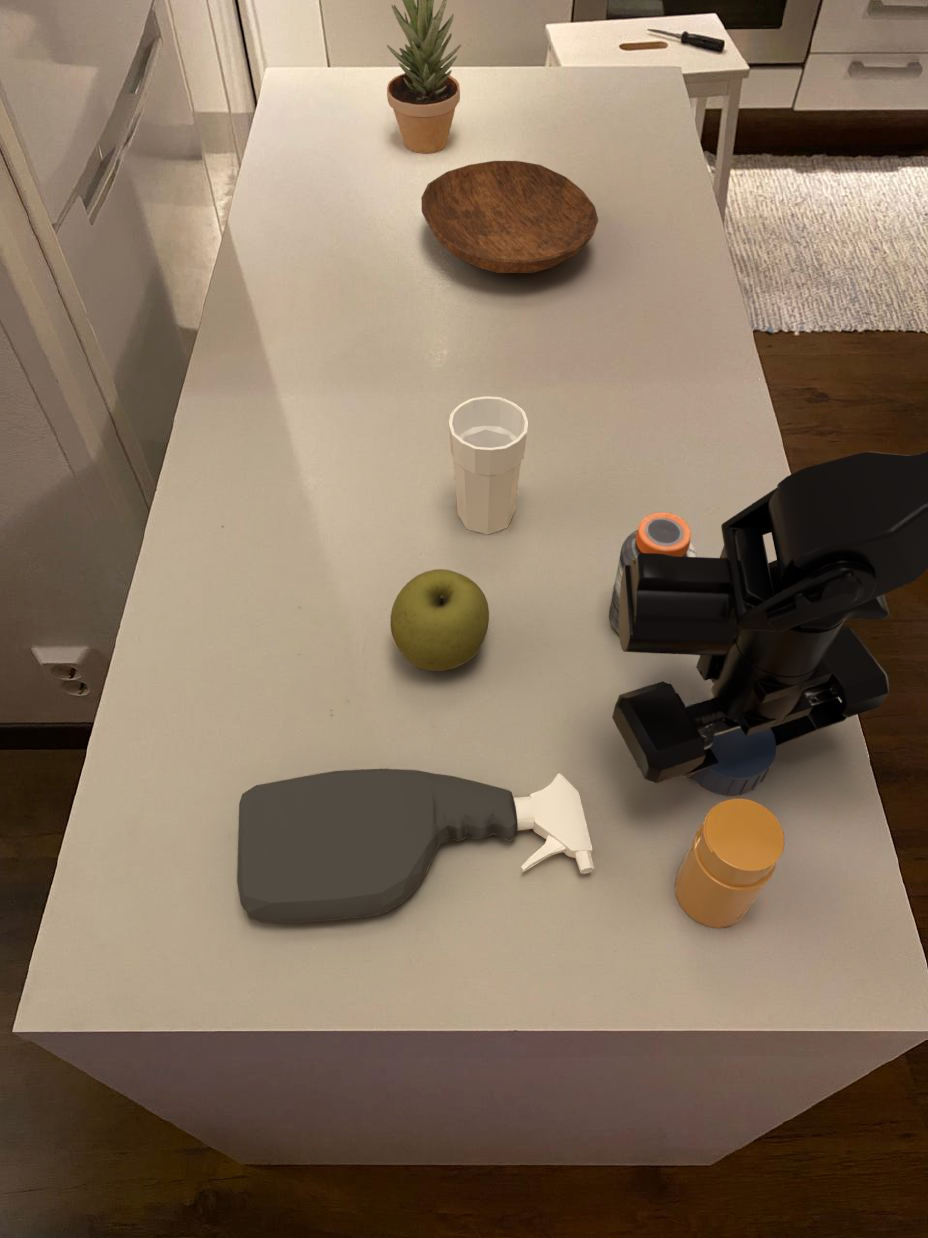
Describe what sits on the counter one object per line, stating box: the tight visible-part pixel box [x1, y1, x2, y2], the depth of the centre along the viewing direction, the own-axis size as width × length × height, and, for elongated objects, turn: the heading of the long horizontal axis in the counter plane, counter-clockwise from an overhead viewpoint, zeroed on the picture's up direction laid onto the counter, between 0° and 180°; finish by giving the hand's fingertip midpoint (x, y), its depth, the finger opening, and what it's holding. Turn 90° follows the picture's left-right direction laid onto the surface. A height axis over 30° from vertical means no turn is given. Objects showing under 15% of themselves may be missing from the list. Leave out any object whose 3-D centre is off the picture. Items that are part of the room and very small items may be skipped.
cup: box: [448, 395, 529, 536], centre depth 83 cm, size 7×7×11 cm
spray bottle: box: [236, 768, 595, 923], centre depth 67 cm, size 3×11×24 cm
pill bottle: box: [608, 511, 698, 637], centre depth 76 cm, size 6×6×11 cm
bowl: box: [420, 160, 599, 274], centre depth 112 cm, size 20×22×5 cm
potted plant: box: [386, 0, 462, 154], centre depth 119 cm, size 10×10×25 cm
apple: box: [389, 568, 490, 672], centre depth 76 cm, size 8×8×7 cm
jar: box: [674, 798, 785, 929], centre depth 62 cm, size 5×5×10 cm
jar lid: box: [691, 719, 777, 796], centre depth 71 cm, size 6×6×3 cm
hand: (723, 758), depth 72 cm, fingers closed on jar lid, 6 cm apart
